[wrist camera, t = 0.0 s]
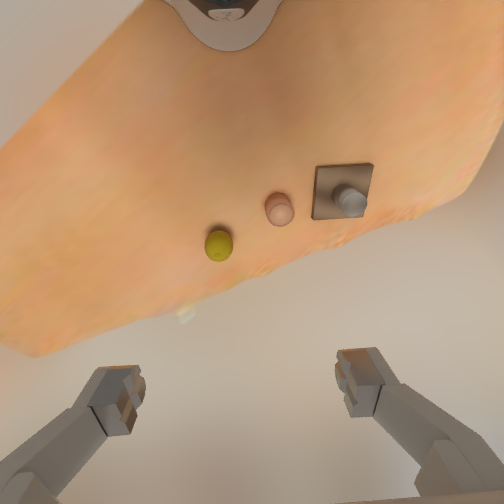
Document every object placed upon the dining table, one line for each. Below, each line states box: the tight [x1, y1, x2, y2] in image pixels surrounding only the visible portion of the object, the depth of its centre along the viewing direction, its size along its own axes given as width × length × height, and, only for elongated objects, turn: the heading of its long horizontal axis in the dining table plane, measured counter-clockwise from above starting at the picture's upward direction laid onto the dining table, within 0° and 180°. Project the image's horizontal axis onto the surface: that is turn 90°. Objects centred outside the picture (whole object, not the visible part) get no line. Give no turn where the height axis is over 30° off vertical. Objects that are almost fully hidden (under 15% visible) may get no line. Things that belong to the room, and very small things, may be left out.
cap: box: [265, 193, 294, 227], centre depth 45 cm, size 5×5×5 cm
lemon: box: [205, 230, 233, 262], centre depth 47 cm, size 6×6×8 cm
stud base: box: [311, 164, 374, 220], centre depth 43 cm, size 10×10×8 cm
